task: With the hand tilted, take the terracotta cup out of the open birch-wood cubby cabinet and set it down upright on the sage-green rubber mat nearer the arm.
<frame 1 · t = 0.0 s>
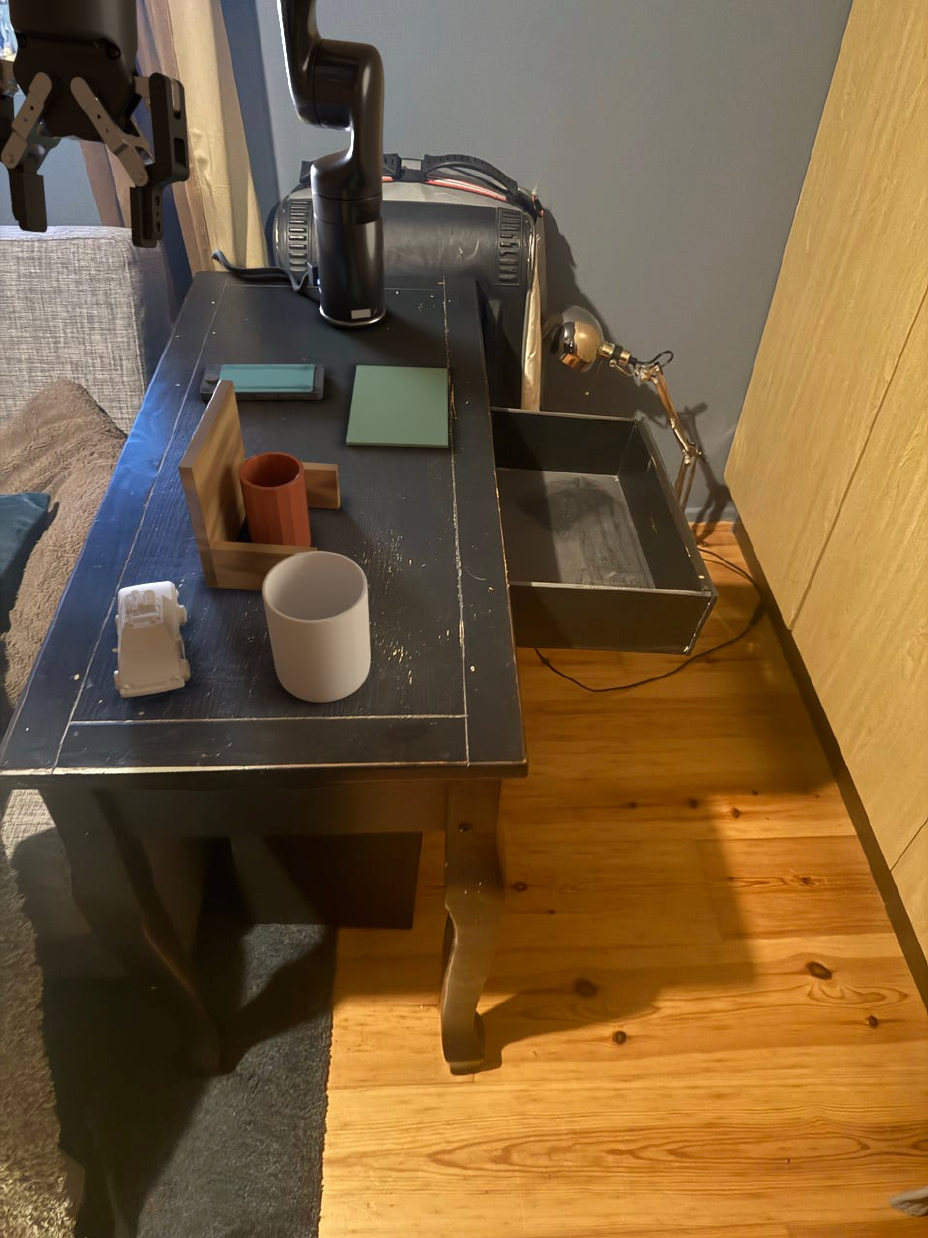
hand: (88, 239, 58), 31 cm above the table, tool tilted 20°, fingers open, 8 cm apart
mat: (399, 405, 103), on the table
cubby: (281, 542, 84), on the table
smartphone: (264, 387, 105), on the table
toy car: (156, 656, 73), on the table
mug: (319, 656, 74), on the table
cup: (276, 507, 81), in the cubby
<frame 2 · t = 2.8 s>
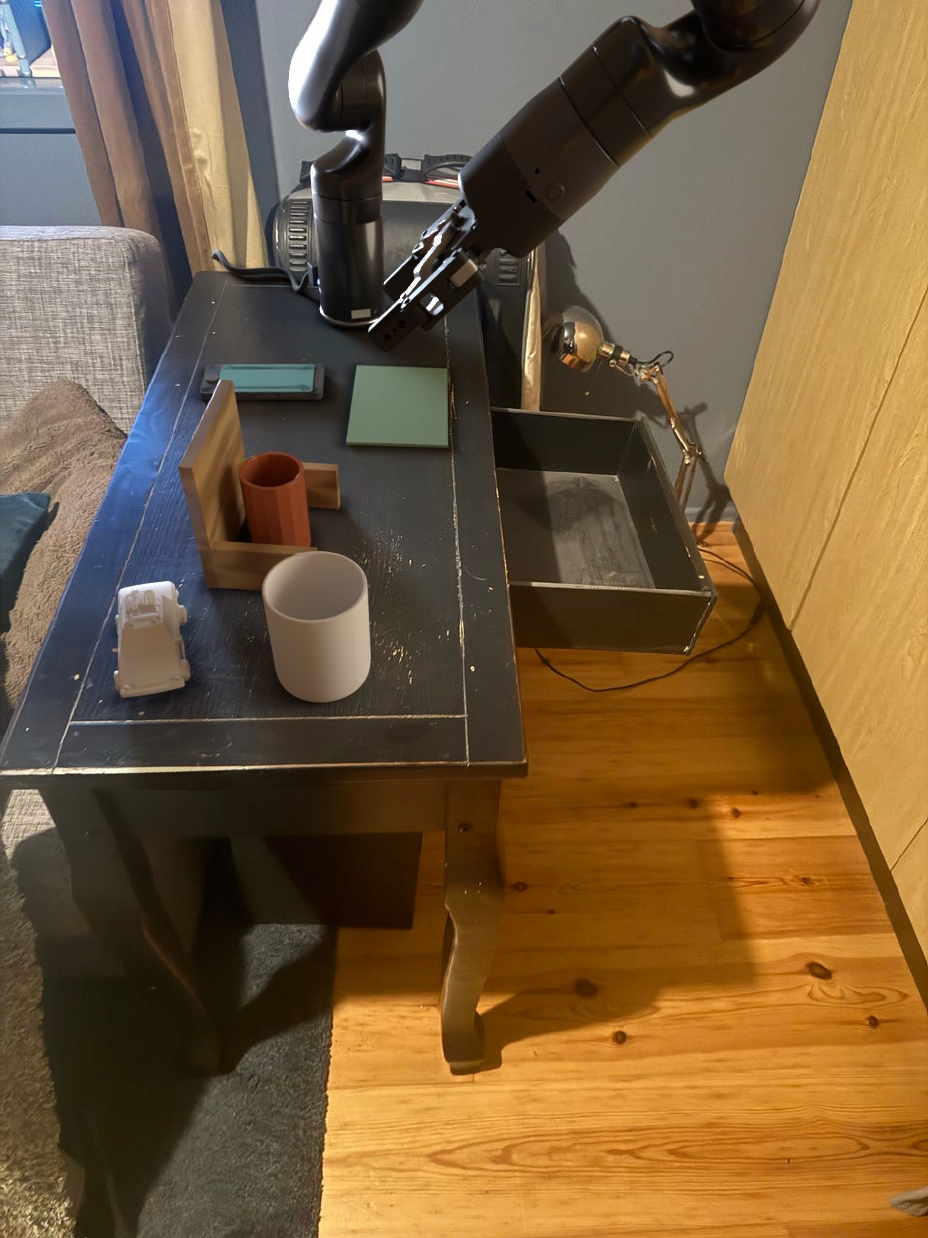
hand: (383, 318, 66), 25 cm above the table, tool tilted 45°, fingers open, 8 cm apart
nothing on the table moved.
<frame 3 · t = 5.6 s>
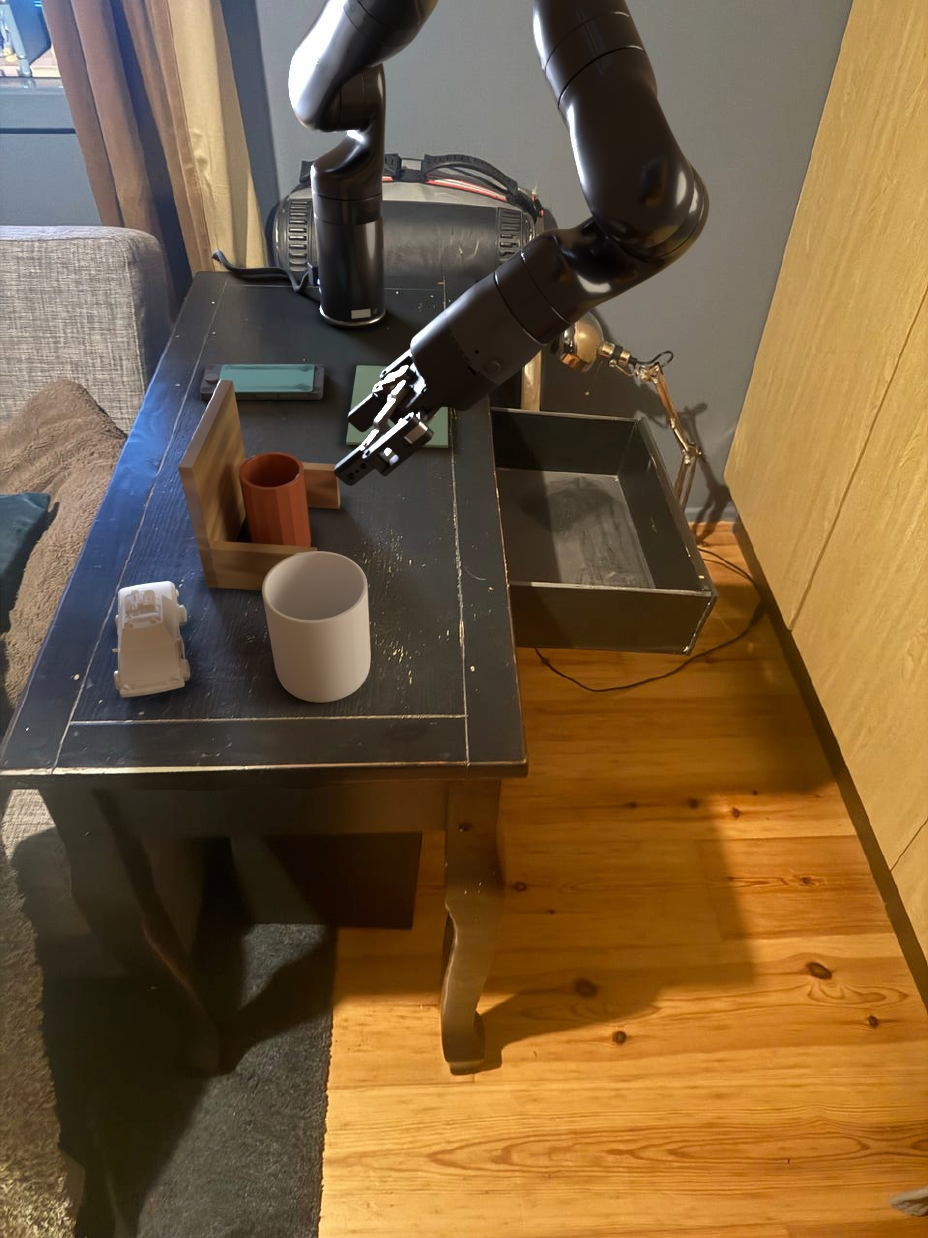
hand: (348, 450, 76), 12 cm above the table, tool tilted 45°, fingers open, 8 cm apart
nothing on the table moved.
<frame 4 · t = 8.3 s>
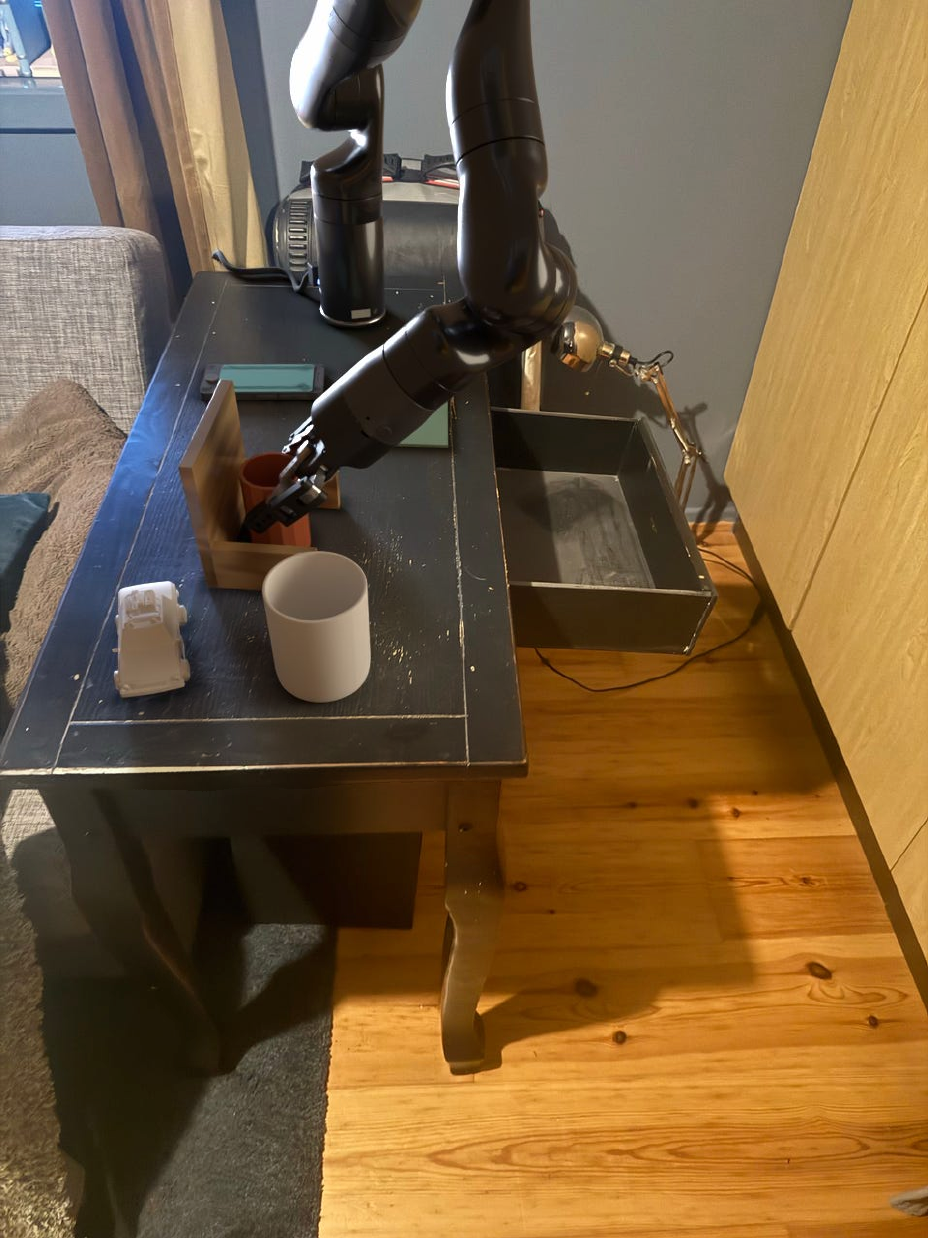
hand: (259, 504, 80), 5 cm above the table, tool tilted 45°, fingers closed on cup, 6 cm apart
cup: (276, 507, 81), in the cubby, touching gripper
everything else where it was.
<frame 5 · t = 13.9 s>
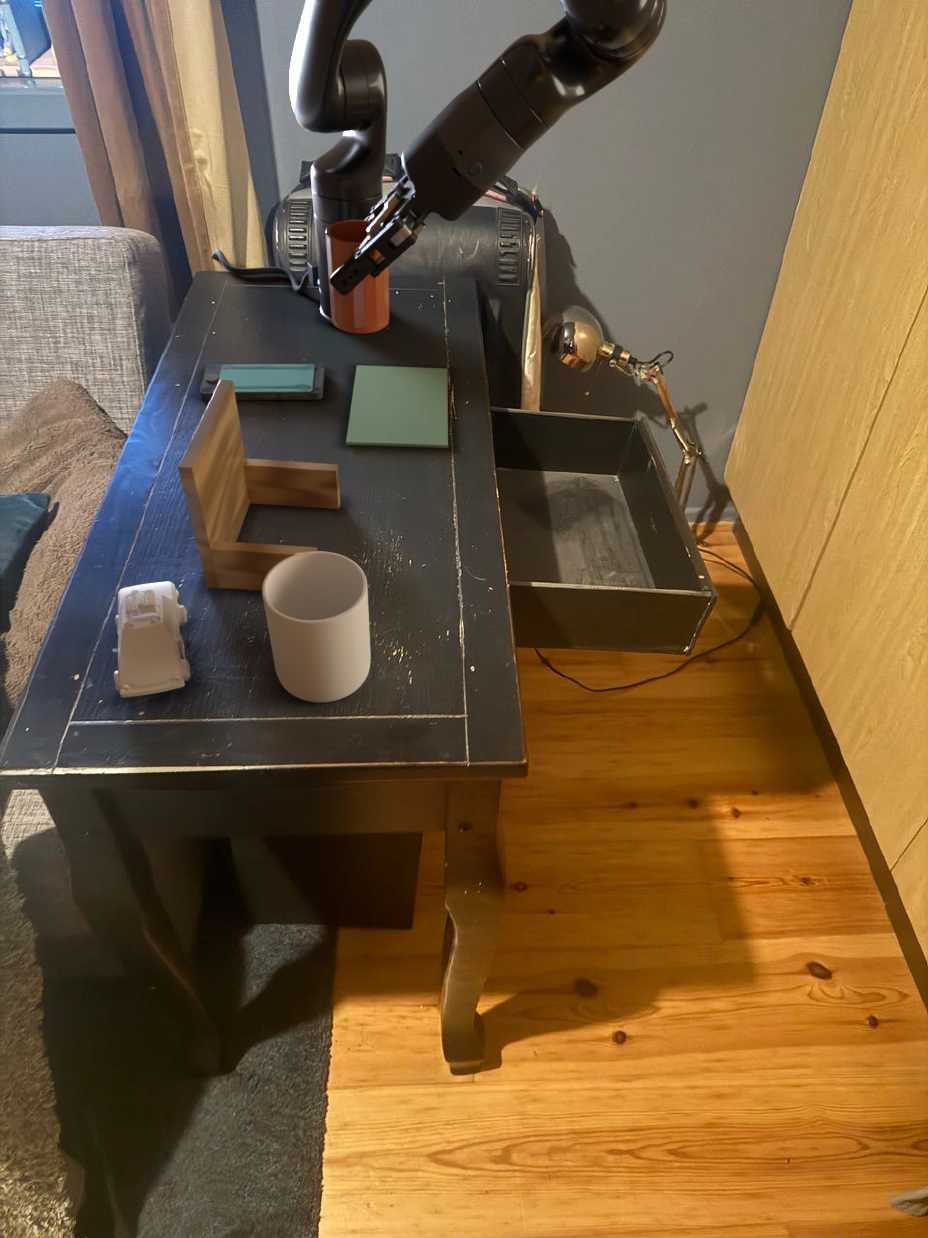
hand: (342, 272, 83), 20 cm above the table, tool tilted 45°, fingers closed on cup, 6 cm apart
cup: (358, 277, 83), point 20 cm above the table, touching gripper
everything else where it was.
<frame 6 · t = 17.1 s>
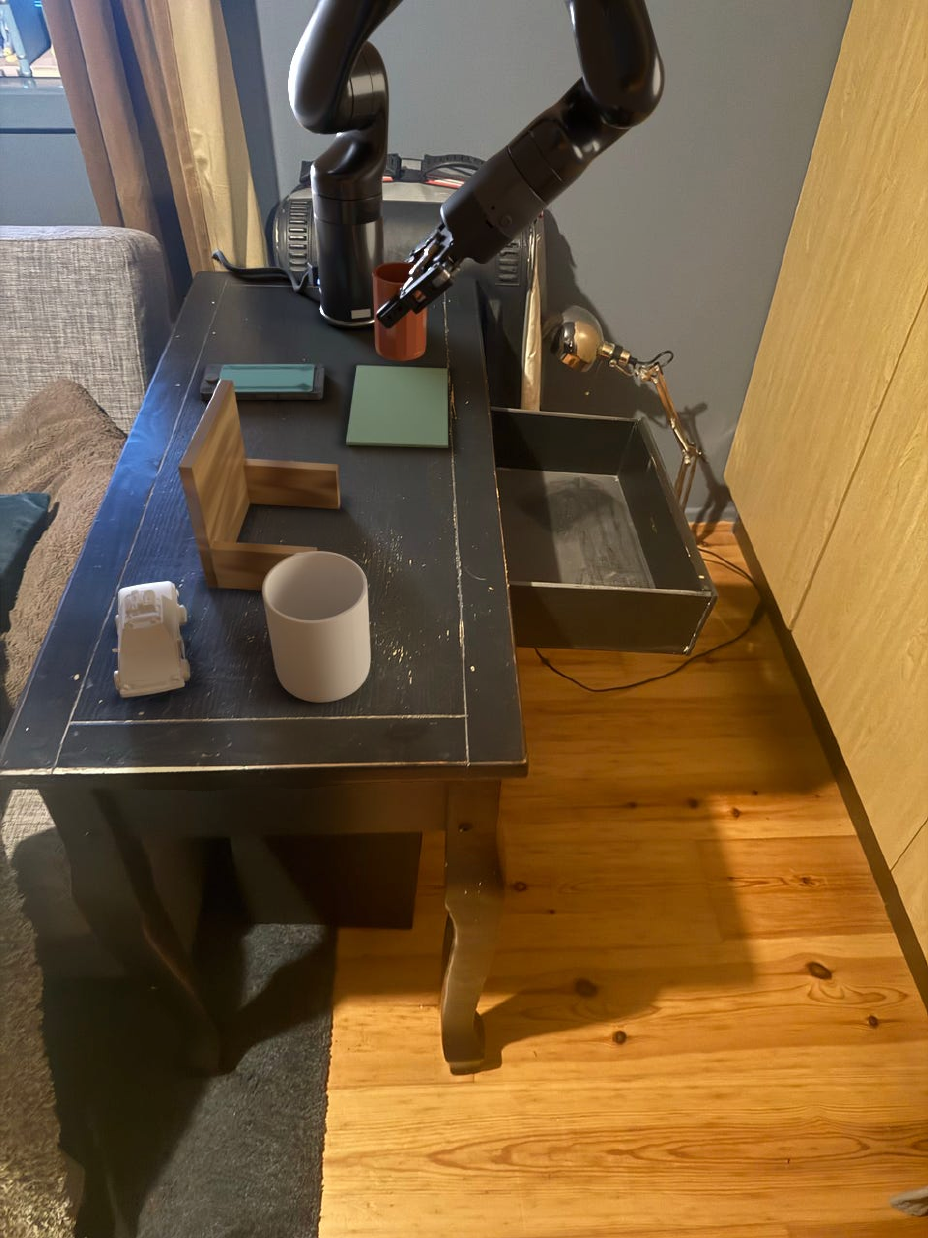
hand: (385, 308, 94), 13 cm above the table, tool tilted 45°, fingers closed on cup, 6 cm apart
cup: (400, 311, 94), point 12 cm above the table, touching gripper
everything else where it was.
when the fingers open (5 cm above the table, at t = 19.6 s): cup stays where it is, resting on mat.
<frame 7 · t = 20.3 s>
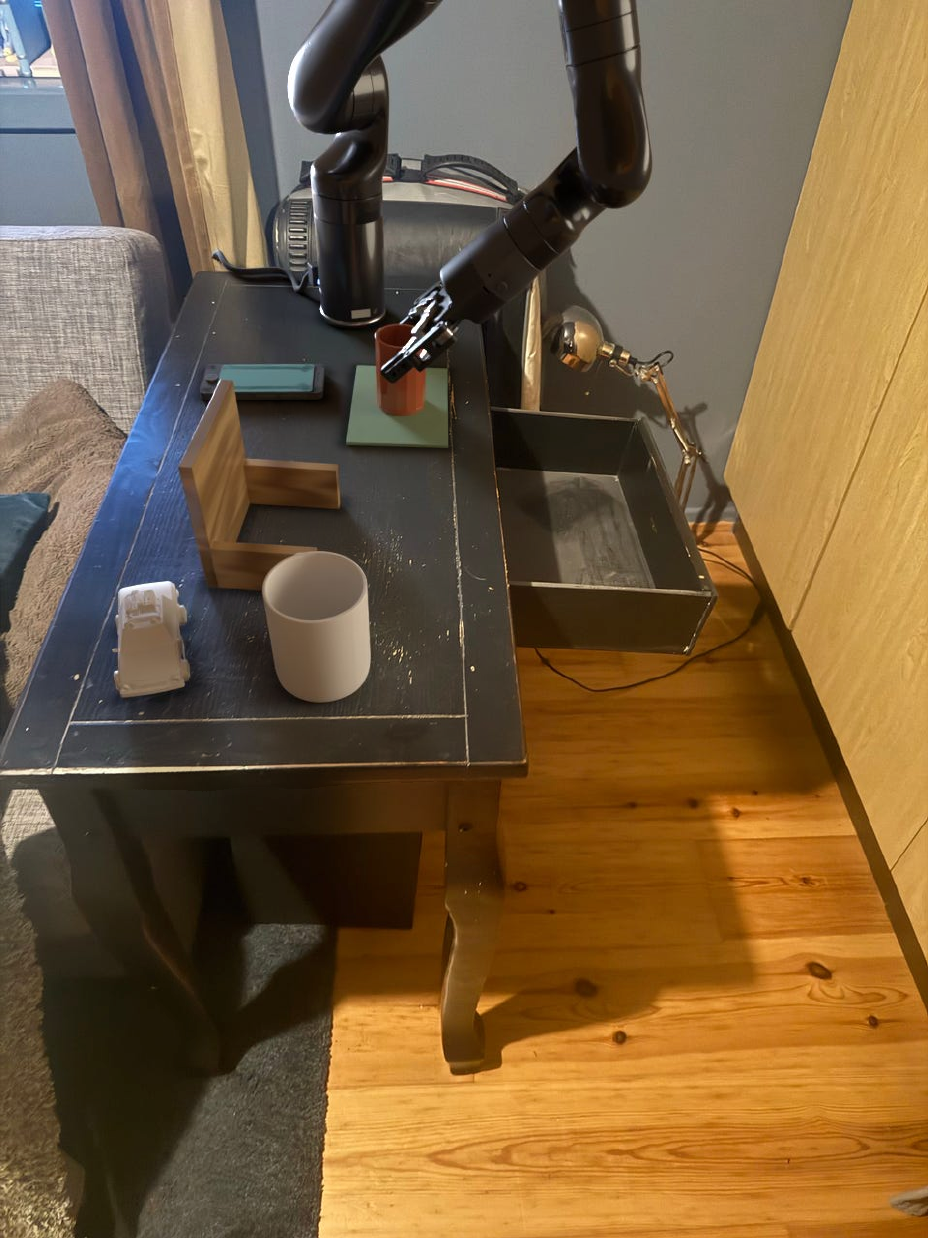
hand: (389, 359, 99), 6 cm above the table, tool tilted 45°, fingers open, 8 cm apart
cup: (400, 370, 100), on the mat
everything else where it was.
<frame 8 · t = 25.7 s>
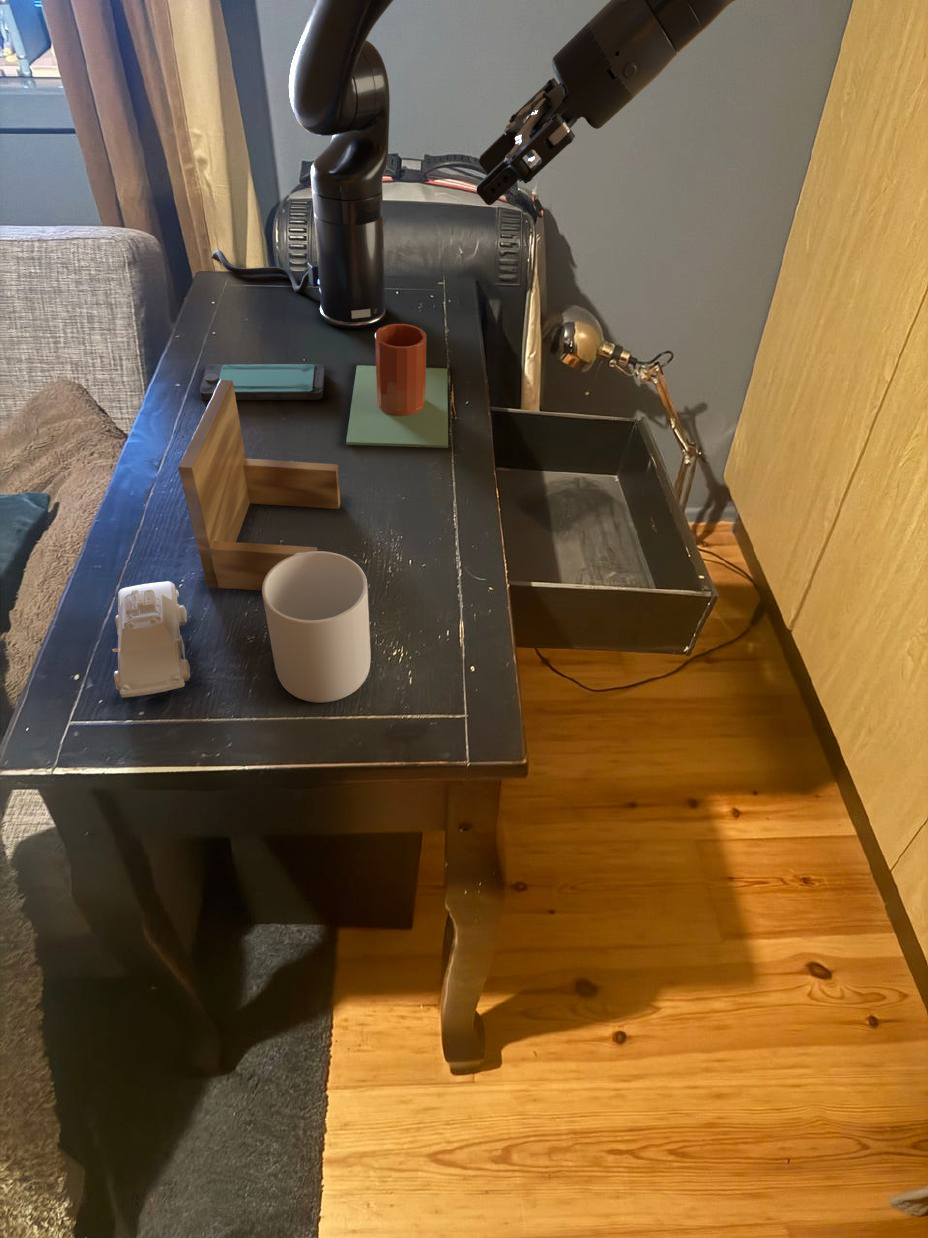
hand: (482, 182, 84), 27 cm above the table, tool tilted 45°, fingers open, 8 cm apart
nothing on the table moved.
at the end: cup inside the target area on the mat (0.1 cm from its centre), point 4.9 cm above the mat's base; cup tilted 0°; the gripper is holding nothing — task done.
